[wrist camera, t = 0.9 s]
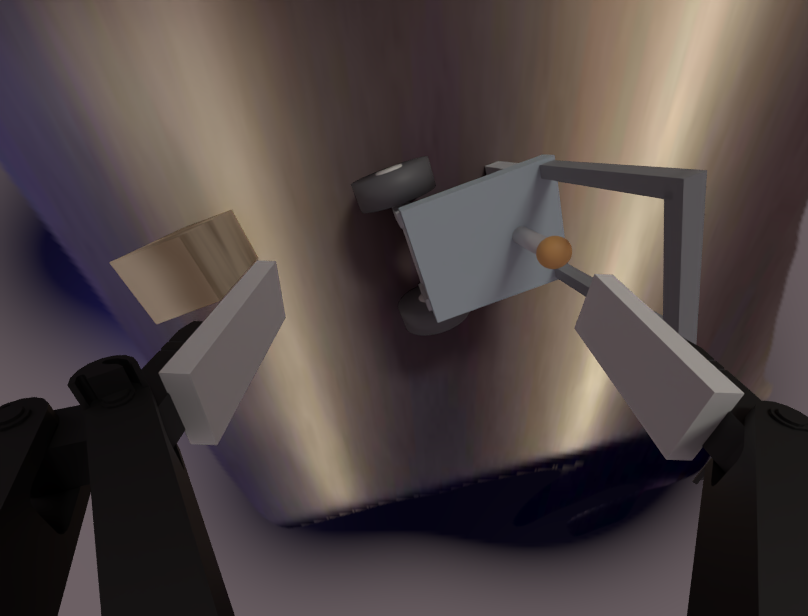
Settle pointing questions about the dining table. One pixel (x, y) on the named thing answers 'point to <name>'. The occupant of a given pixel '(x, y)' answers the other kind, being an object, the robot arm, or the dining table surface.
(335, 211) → the dining table surface
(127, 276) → the block
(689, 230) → the trolley
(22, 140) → the dining table surface
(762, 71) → the dining table surface
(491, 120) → the dining table surface
